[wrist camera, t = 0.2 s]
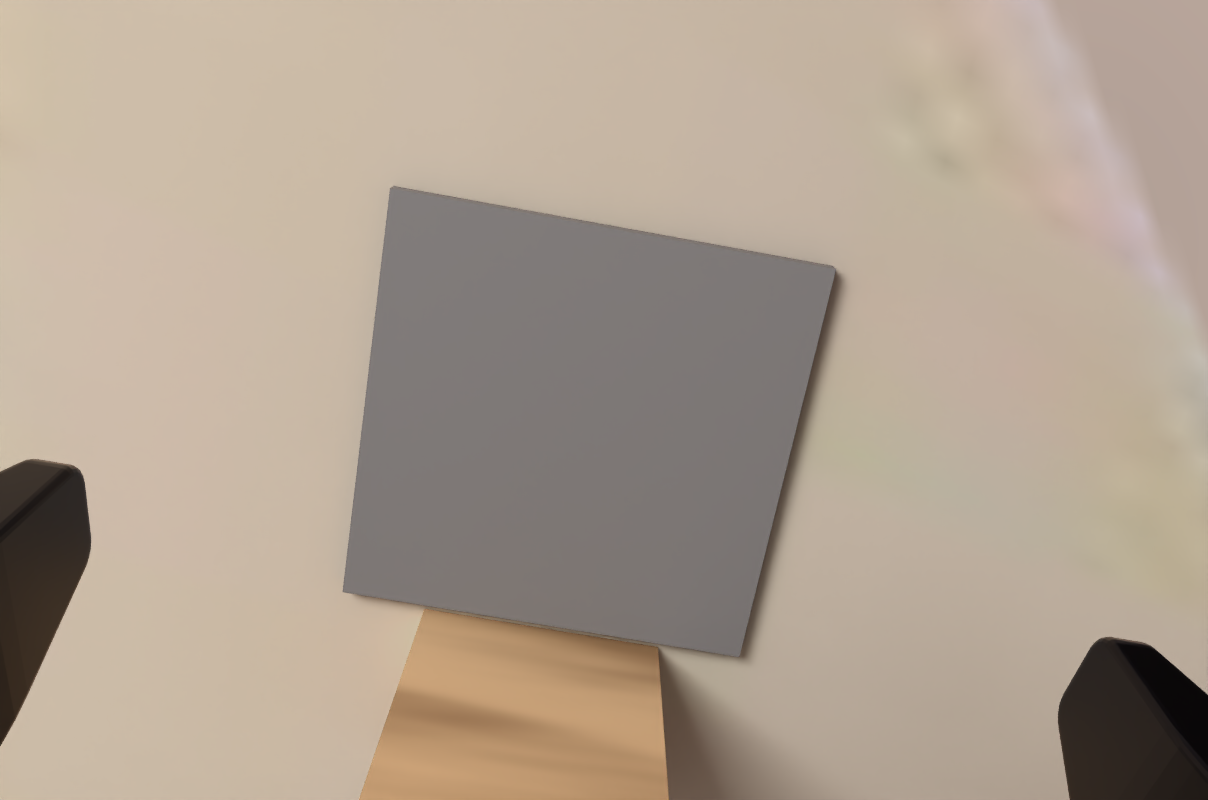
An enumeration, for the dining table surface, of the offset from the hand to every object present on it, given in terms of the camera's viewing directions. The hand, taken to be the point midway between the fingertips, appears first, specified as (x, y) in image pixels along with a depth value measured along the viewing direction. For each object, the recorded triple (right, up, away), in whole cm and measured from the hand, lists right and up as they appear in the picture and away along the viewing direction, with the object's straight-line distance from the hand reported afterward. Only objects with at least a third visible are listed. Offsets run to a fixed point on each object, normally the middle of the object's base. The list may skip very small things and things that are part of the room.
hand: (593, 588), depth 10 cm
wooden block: (-2, -6, +19) cm, 20 cm away
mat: (-1, +1, +16) cm, 16 cm away
